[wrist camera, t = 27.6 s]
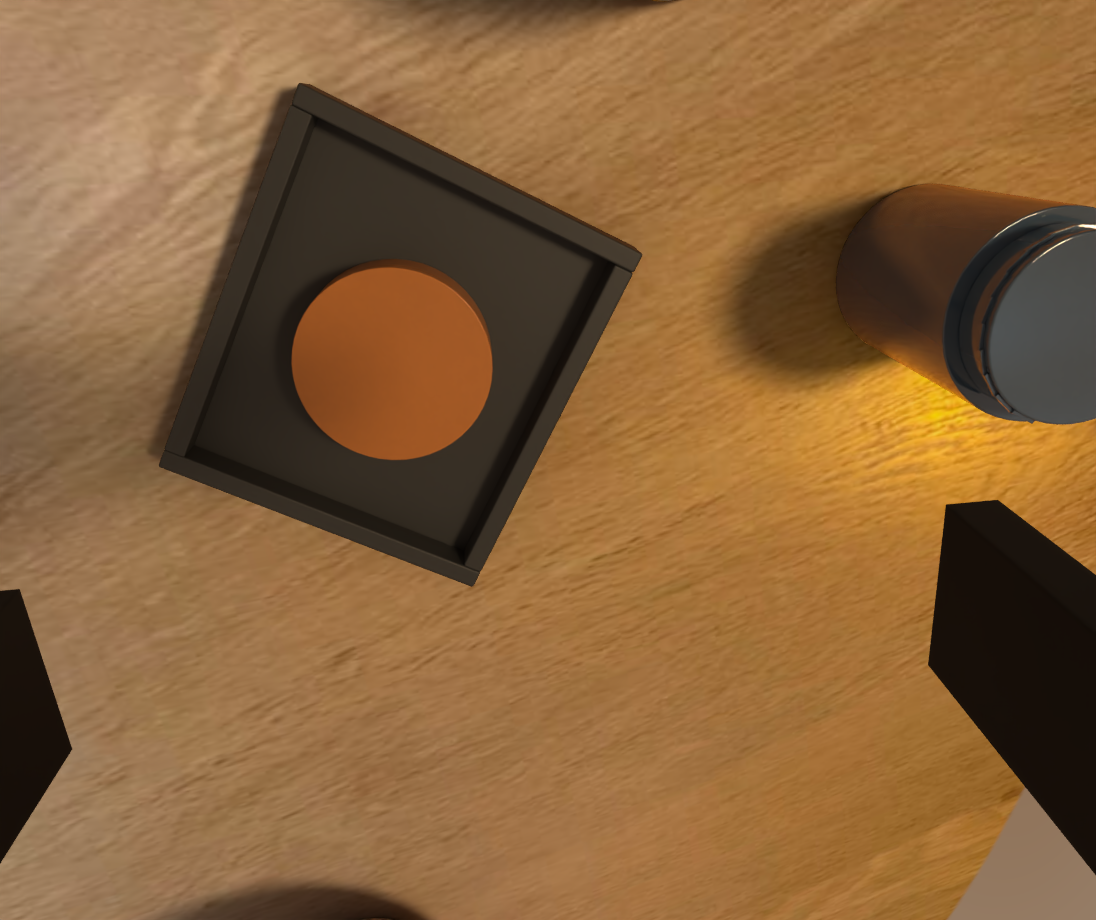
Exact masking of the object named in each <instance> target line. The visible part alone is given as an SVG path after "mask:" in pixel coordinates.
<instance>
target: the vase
mask: <svg viewBox="0 0 1096 920" xmlns="http://www.w3.org/2000/svg"><path fill="white" fill-rule="evenodd" d="M362 920H392V919H385V918H371V919H362Z"/></svg>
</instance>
